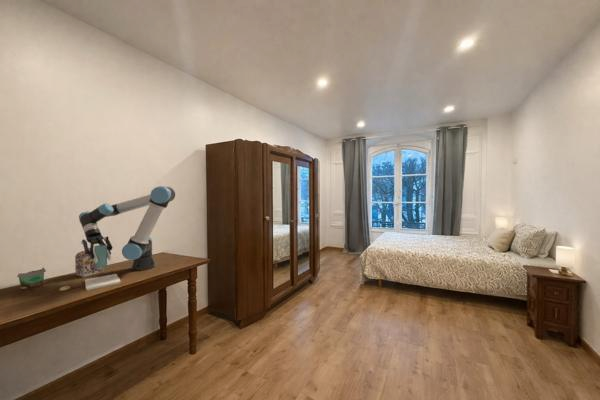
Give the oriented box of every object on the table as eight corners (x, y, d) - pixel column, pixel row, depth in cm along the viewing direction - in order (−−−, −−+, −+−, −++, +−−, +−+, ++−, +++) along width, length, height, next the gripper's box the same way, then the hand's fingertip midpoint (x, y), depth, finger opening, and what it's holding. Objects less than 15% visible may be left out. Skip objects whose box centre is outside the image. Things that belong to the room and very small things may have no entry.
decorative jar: (104, 272, 171) (103, 247, 170) (83, 277, 161) (82, 250, 160) (95, 270, 176) (94, 245, 176) (75, 275, 166) (74, 249, 166)
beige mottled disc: (68, 287, 144) (68, 285, 144) (71, 289, 142) (70, 287, 142) (58, 290, 140) (58, 288, 140) (60, 291, 138) (60, 289, 138)
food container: (25, 291, 138) (25, 274, 138) (17, 290, 139) (17, 273, 139) (51, 283, 150) (51, 267, 150) (44, 283, 151) (43, 267, 151)
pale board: (116, 275, 164) (116, 273, 164) (120, 283, 150) (120, 281, 150) (84, 281, 153) (84, 279, 153) (86, 290, 139) (86, 288, 139)
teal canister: (106, 264, 155) (106, 244, 155) (107, 266, 151) (107, 245, 151) (94, 266, 151) (93, 245, 151) (95, 268, 147) (94, 247, 147)
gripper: (108, 233, 167) (119, 260, 159) (71, 237, 151) (82, 268, 142) (111, 226, 164) (122, 253, 156) (74, 230, 148) (85, 260, 140)
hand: (103, 260), depth 149 cm, fingers closed on teal canister, 6 cm apart
